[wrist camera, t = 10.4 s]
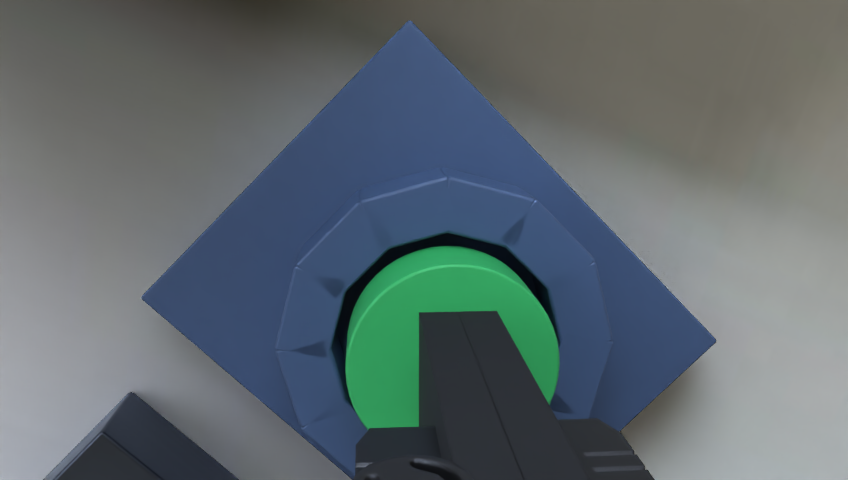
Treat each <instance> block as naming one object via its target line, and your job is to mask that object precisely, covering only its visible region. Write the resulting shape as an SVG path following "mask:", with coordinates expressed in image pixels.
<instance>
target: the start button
mask: <svg viewBox="0 0 848 480" xmlns="http://www.w3.org/2000/svg"><path fill="white" fill-rule="evenodd" d="M461 311H497V312H498V314H499V316H500V317H501V319H502V321H503V323H504V325H505V326H506V328H507V330H508V332H509V334H510V335H511V337H512V339H513V341H514V343H515V344H516V346H517V348H518V350H519V352H520V353H521V355H522V357H523V359H524V361H525V362H526V364H527V366H528V368H529V370H530V371H531V373H532V375H533V377H534V379H535V380H536V382H537V384H538V386H539V388H540V389H541V391H542V393H543V395H544V397H545V398H546V400H547V402H548V404H549V405H550V402H551V400H552V397H553V395H554V392H555V389H556V385H557V381H558V375H559V366H560V362H559V348H558V342H557V337H556V334H555V331H554V328H553V325H552V323H551V321H550V319H549V317H548V315H547V313H546V312H545V310H544V308H543V307H542V305H541V304H540V303H539V301H538V300H537V299H536V297H535V296H534V295H533V293H532V292H531V291H530V290H529V288H528V287H527V286H526V284H525V283H524V282H523V281H522V280H521V278H520V277H519V276H518V275H517V274H516V273H515V272H514V271H513V270H512V269H511V268H509V267H508V266H507V265H506V264H504V263H503V262H501V261H500V260H498V259H496V258H495V257H493V256H490V255H488V254H486V253H484V252H481V251H478V250H475V249H471V248H465V247H460V246H437V247H430V248H425V249H420V250H417V251H414V252H412V253H409V254H406V255H404V256H402V257H400V258H398V259H396V260H395V261H393V262H392V263H390V264H389V265H387V266H386V267H385V268H383V269H382V270H381V271H380V272H379V273H378V274H376V275H375V276H374V278H373V279H372V280H371V281H370V282H369V283H368V284H367V286H366V287H365V289H364V290H363V292H362V293H361V295H360V296H359V298H358V300H357V302H356V304H355V306H354V309H353V312H352V315H351V318H350V322H349V327H348V335H347V349H346V367H345V373H346V384H347V388H348V393H349V397H350V399H351V402H352V405H353V407H354V410H355V411H356V413H357V415H358V417H359V419H360V420H361V422H362V423H363V424H364V426H365V427H366V428H367V430H369V429H370V428H391V427H419V312H461Z"/></svg>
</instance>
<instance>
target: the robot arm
mask: <svg viewBox="0 0 848 480" xmlns="http://www.w3.org/2000/svg"><path fill="white" fill-rule="evenodd" d="M353 480H654V478H653V477H652V476H651V474H650V473H649V471H648V470H645V466H644V464H643V463H642V462H641V460H640V459H639V457H638V456H637V455H634V450H633V449H632V448H631V446H630V445H629V443H628V442H627V441H626V439H625V438H624V436H623V435H622V433H620V432H619V431H617V430H615V429H614V428H612V427H610V426H609V425H607V424H606V423H604V422H602V421H601V420H599V419H598V418H592V419H561V420H557V418H556V416H555V415H554V413H553V411H552V409H551V407H550V406H549V404H548V402H547V400H546V398H545V397H544V395H543V393H542V391H541V389H540V388H539V386H538V384H537V382H536V380H535V379H534V377H533V375H532V373H531V371H530V370H529V368H528V366H527V364H526V362H525V361H524V359H523V357H522V355H521V353H520V352H519V350H518V348H517V346H516V344H515V343H514V341H513V339H512V337H511V335H510V334H509V332H508V330H507V328H506V326H505V325H504V323H503V321H502V319H501V317H500V316H499V314H498V312H497V311H461V312H419V427H391V428H370V429H369V430H368V431H367V432H366V433H365V435H364V436H363V437H362V438H361V439H360V440H359V442H358V443H357V444H356V457H355V476H354V479H353Z"/></svg>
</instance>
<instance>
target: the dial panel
mask: <svg viewBox="0 0 848 480" xmlns="http://www.w3.org/2000/svg"><path fill="white" fill-rule="evenodd" d="M43 480H239V479H238V478H236V477H235V476H234V475H233V474H232V473H230V472H229V471H228V470H227V469H226V468H224V467H223V466H222V465H221V464H219V463H218V462H217V461H216V460H215V459H213V458H212V457H211V456H210V455H208V454H207V453H206V452H205V451H204V450H202V449H201V448H200V447H199V446H198V445H196V444H195V443H194V442H193V441H191V440H190V439H189V438H188V437H187V436H185V435H184V434H183V433H182V432H181V431H179V430H178V429H177V428H176V427H174V426H173V425H172V424H171V423H170V422H168V421H167V420H166V419H165V418H163V417H162V416H161V415H160V414H159V413H157V412H156V411H155V410H154V409H153V408H151V407H150V406H149V405H148V404H146V403H145V402H144V401H143V400H142V399H140V398H139V397H138V396H137V395H136V394H134V393H133V392H130V393H128V394H127V395H126V396H125V397H124V398H123V399H122V400H121V401H120V402H119V403H118V404H117V405H116V406H115V407H114V408H113V409H112V410H111V411H110V412H109V413H108V414H107V415H106V416H105V417H104V418H103V419H102V420H101V421H100V422H99V423H98V424H97V425H96V426H95V427H94V428H93V429H92V430H91V431H90V433H89V434H88V435H87V436H86V437H85V438H84V439H83V440H82V441H81V442H80V443H79V444H78V445H77V446H76V447H75V448H74V449H73V450H72V451H71V452H70V453H69V454H68V455H67V456H66V457H65V458H64V459H63V460H62V461H61V462H60V463H59V464H58V465H57V466H56V467H55V468H54V469H53V470H52V471H51V472H50V473H49V474H48V475H47V476H46V477H45V478H44V479H43Z"/></svg>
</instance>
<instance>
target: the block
mask: <svg viewBox="0 0 848 480" xmlns="http://www.w3.org/2000/svg"><path fill="white" fill-rule="evenodd" d="M437 246H460V247H465V248H471V249H475V250H478V251H481V252H484V253H486V254H488V255H490V256H493V257H495V258H496V259H498V260H500V261H501V262H503V263H504V264H506V265H507V266H508V267H509V268H511V269H512V270H513V271H514V272H515V273H516V274H517V275H518V276H519V277H520V278H521V280H522V281H523V282H524V283H525V284H526V286H527V287H528V288H529V290H530V291H531V292H532V293H533V295H534V296H535V297H536V299H537V300H538V301H539V303H540V304H541V305H542V307H543V308H544V310H545V312H546V313H547V315H548V317H549V319H550V321H551V323H552V325H553V328H554V331H555V334H556V337H557V342H558V348H559V362H560V366H559V375H558V381H557V385H556V389H555V392H554V395H553V397H552V400H551V402H550V405H549V406H550V407H551V409H552V411H553V413H554V415H555V416H556V418H557V420H561V419H592V418H598V419H599V420H601V421H602V422H604V423H606V424H607V425H609V426H610V427H612V428H614V429H615V430H617V431H620V430H622V429H623V428H624V427H625V426H626V425H627V424H628V423H629V422H630V421H631V420H632V419H633V418H635V417H636V416H637V415H638V414H639V413H640V412H641V411H642V410H643V409H644V408H645V407H646V406H647V405H649V404H650V403H651V402H652V401H653V400H654V399H655V398H656V397H657V396H658V395H659V394H660V393H662V392H663V391H664V390H665V389H666V388H667V387H668V386H669V385H670V384H671V383H672V382H673V381H674V380H676V379H677V378H678V377H679V376H680V375H681V374H682V373H683V372H684V371H685V370H686V369H687V368H689V367H690V366H691V365H692V364H693V363H694V362H695V361H696V360H697V359H698V358H699V357H700V356H701V355H703V354H704V353H705V352H706V351H707V350H708V349H709V348H710V347H711V346H712V345H713V344H714V343H716V339H715V338H714V337H713V336H712V335H711V334H710V333H709V332H708V331H707V330H706V329H705V327H704V326H703V325H702V324H701V323H700V322H699V321H698V320H697V319H696V318H695V317H694V316H693V315H692V314H691V313H690V312H689V311H688V310H687V309H686V308H685V307H684V306H683V304H682V303H681V302H680V301H679V300H678V299H677V298H676V297H675V296H674V295H673V294H672V293H671V292H670V291H669V290H668V289H667V288H666V287H665V286H664V285H663V284H662V283H661V281H660V280H659V279H658V278H657V277H656V276H655V275H654V274H653V273H652V272H651V271H650V270H649V269H648V268H647V267H646V266H645V265H644V264H643V263H642V262H641V261H640V260H639V258H638V257H637V256H636V255H635V254H634V253H633V252H632V251H631V250H630V249H629V248H628V247H627V246H626V245H625V244H624V243H623V242H622V241H621V240H620V239H619V238H618V237H617V235H616V234H615V233H614V232H613V231H612V230H611V229H610V228H609V227H608V226H607V225H606V224H605V223H604V222H603V221H602V220H601V219H600V218H599V217H598V216H597V215H596V214H595V212H594V211H593V210H592V209H591V208H590V207H589V206H588V205H587V204H586V203H585V202H584V201H583V200H582V199H581V198H580V197H579V196H578V195H577V194H576V193H575V192H574V191H573V189H572V188H571V187H570V186H569V185H568V184H567V183H566V182H565V181H564V180H563V179H562V178H561V177H560V176H559V175H558V174H557V173H556V172H555V171H554V170H553V169H552V168H551V166H550V165H549V164H548V163H547V162H546V161H545V160H544V159H543V158H542V157H541V156H540V155H539V154H538V153H537V152H536V151H535V150H534V149H533V148H532V147H531V146H530V145H529V144H528V142H527V141H526V140H525V139H524V138H523V137H522V136H521V135H520V134H519V133H518V132H517V131H516V130H515V129H514V128H513V127H512V126H511V125H510V124H509V123H508V122H507V121H506V119H505V118H504V117H503V116H502V115H501V114H500V113H499V112H498V111H497V110H496V109H495V108H494V107H493V106H492V105H491V104H490V103H489V102H488V101H487V100H486V99H485V98H484V96H483V95H482V94H481V93H480V92H479V91H478V90H477V89H476V88H475V87H474V86H473V85H472V84H471V83H470V82H469V81H468V80H467V79H466V78H465V77H464V76H463V75H462V73H461V72H460V71H459V70H458V69H457V68H456V67H455V66H454V65H453V64H452V63H451V62H450V61H449V60H448V59H447V58H446V57H445V56H444V55H443V54H442V53H441V52H440V50H439V49H438V48H437V47H436V46H435V45H434V44H433V43H432V42H431V41H430V40H429V39H428V38H427V37H426V36H425V35H424V34H423V33H422V32H421V31H420V30H419V29H418V27H417V26H416V25H415V24H414V23H413V22H412V21H410V20H409V21H407V22H406V23H405V24H404V25H403V26H402V28H401V29H400V30H399V31H398V32H397V33H396V34H395V35H394V36H393V37H392V38H391V39H390V40H389V41H388V42H387V43H386V44H385V45H384V46H383V47H382V48H381V49H380V50H379V51H378V52H377V53H376V54H375V55H374V56H373V57H372V59H371V60H370V61H369V62H368V63H367V64H366V65H365V66H364V67H363V68H362V69H361V70H360V71H359V72H358V73H357V74H356V75H355V76H354V77H353V78H352V79H351V80H350V81H349V82H348V83H347V84H346V85H345V86H344V87H343V89H342V90H341V91H340V92H339V93H338V94H337V95H336V96H335V97H334V98H333V99H332V100H331V101H330V102H329V103H328V104H327V105H326V106H325V107H324V108H323V109H322V110H321V111H320V112H319V113H318V114H317V115H316V116H315V117H314V119H313V120H312V121H311V122H310V123H309V124H308V125H307V126H306V127H305V128H304V129H303V130H302V131H301V132H300V133H299V134H298V135H297V136H296V137H295V138H294V139H293V140H292V141H291V142H290V143H289V144H288V145H287V146H286V147H285V149H284V150H283V151H282V152H281V153H280V154H279V155H278V156H277V157H276V158H275V159H274V160H273V161H272V162H271V163H270V164H269V165H268V166H267V167H266V168H265V169H264V170H263V171H262V172H261V173H260V174H259V175H258V176H257V177H256V179H255V180H254V181H253V182H252V183H251V184H250V185H249V186H248V187H247V188H246V189H245V190H244V191H243V192H242V193H241V194H240V195H239V196H238V197H237V198H236V199H235V200H234V201H233V202H232V203H231V204H230V205H229V206H228V207H227V208H226V210H225V211H224V212H223V213H222V214H221V215H220V216H219V217H218V218H217V219H216V220H215V221H214V222H213V223H212V224H211V225H210V226H209V227H208V228H207V229H206V230H205V231H204V232H203V233H202V234H201V235H200V236H199V237H198V238H197V240H196V241H195V242H194V243H193V244H192V245H191V246H190V247H189V248H188V249H187V250H186V251H185V252H184V253H183V254H182V255H181V256H180V257H179V258H178V259H177V260H176V261H175V262H174V263H173V264H172V265H171V266H170V267H169V268H168V270H167V271H166V272H165V273H164V274H163V275H162V276H161V277H160V278H159V279H158V280H157V281H156V282H155V283H154V284H153V285H152V286H151V287H150V288H149V289H148V290H147V291H146V292H145V293H144V294H143V295H142V297H141V298H142V300H143V301H145V302H146V303H147V304H148V305H149V306H150V307H152V308H153V309H154V310H155V311H156V312H157V313H159V314H160V315H161V316H162V317H163V318H164V319H166V320H167V321H168V322H169V323H170V324H172V325H173V326H174V327H175V328H176V329H177V330H179V331H180V332H181V333H182V334H183V335H184V336H186V337H187V338H188V339H189V340H190V341H191V342H193V343H194V344H195V345H196V346H197V347H198V348H200V349H201V350H202V351H203V352H204V353H205V354H207V355H208V356H209V357H210V358H211V359H212V360H214V361H215V362H216V363H217V364H218V365H219V366H221V367H222V368H223V369H224V370H225V371H226V372H228V373H229V374H230V375H231V376H232V377H233V378H235V379H236V380H237V381H238V382H239V383H240V384H242V385H243V386H244V387H245V388H246V389H247V390H249V391H250V392H251V393H252V394H253V395H254V396H256V397H257V398H258V399H259V400H260V401H261V402H263V403H264V404H265V405H266V406H267V407H268V408H270V409H271V410H272V411H273V412H274V413H275V414H277V415H278V416H279V417H280V418H281V419H282V420H284V421H285V422H286V423H287V424H288V425H289V426H291V427H292V428H293V429H294V430H295V431H296V432H298V433H299V434H300V435H301V436H302V437H303V438H305V439H306V440H307V441H308V442H309V443H310V444H312V445H313V446H314V447H315V448H316V449H317V450H319V451H320V452H321V453H322V454H323V455H324V456H326V457H327V458H328V459H329V460H330V461H331V462H333V463H334V464H335V465H336V466H337V467H338V468H340V469H341V470H342V471H343V472H344V473H345V474H347V475H348V476H349V477H350V478H351V479H352V480H353V479H354V476H355V457H356V444H357V443H358V442H359V440H360V439H361V438H362V437H363V436H364V435H365V433H366V432H367V431H368V430H367V428H366V427H365V426H364V424H363V423H362V422H361V420H360V419H359V417H358V415H357V413H356V411H355V410H354V407H353V405H352V402H351V399H350V397H349V393H348V388H347V384H346V373H345V367H346V349H347V335H348V327H349V322H350V318H351V315H352V312H353V309H354V306H355V304H356V302H357V300H358V298H359V296H360V295H361V293H362V292H363V290H364V289H365V287H366V286H367V284H368V283H369V282H370V281H371V280H372V279H373V278H374V276H375V275H376V274H378V273H379V272H380V271H381V270H382V269H383V268H385V267H386V266H387V265H389V264H390V263H392V262H393V261H395V260H396V259H398V258H400V257H402V256H404V255H406V254H409V253H412V252H414V251H417V250H420V249H425V248H430V247H437Z"/></svg>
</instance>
